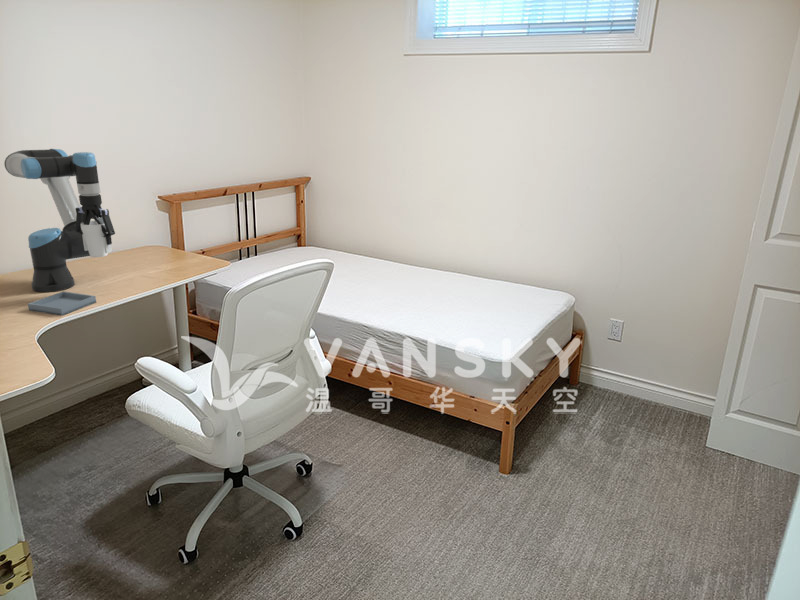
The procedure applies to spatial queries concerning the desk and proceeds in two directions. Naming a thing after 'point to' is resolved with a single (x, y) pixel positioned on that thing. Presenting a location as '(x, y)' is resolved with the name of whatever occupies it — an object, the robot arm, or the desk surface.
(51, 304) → the grey tray
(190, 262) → the desk surface
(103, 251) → the foam cup
